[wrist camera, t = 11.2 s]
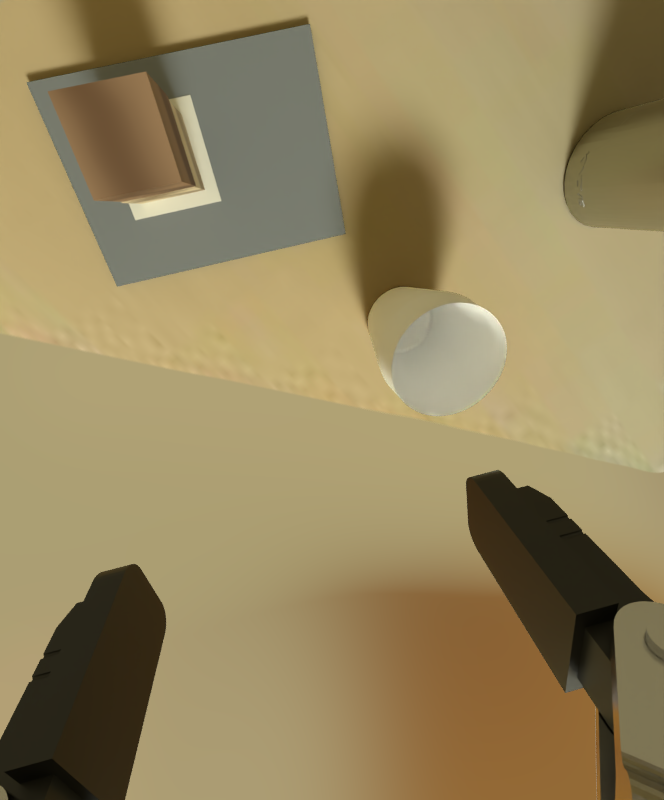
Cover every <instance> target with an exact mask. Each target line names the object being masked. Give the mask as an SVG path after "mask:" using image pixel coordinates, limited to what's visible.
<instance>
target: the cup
mask: <svg viewBox="0 0 664 800" xmlns="http://www.w3.org/2000/svg"><path fill="white" fill-rule="evenodd" d="M368 331H369V335H370V338H371V341H372V345H373V348H374V351H375V354H376V358H377V361H378V364H379V367H380V370H381V373H382V375H383V377H384V379H385V381H386V382H387V384H388V385H389V386H390V388H391V389H392V390H393V391H394V392H395V393H396V394H397V395H398V396H399V397H400V398H401V400H402V401H403V402H404V403H405V404H406V405H407V406H409V407H410V408H411V409H413V410H415V411H417V412H419V413H422V414H425V415H430V416H446V415H452V414H456V413H459V412H461V411H464V410H466V409H468V408H470V407H472V406H473V405H475V404H476V403H478V402H479V401H480V400H481V399H483V398H484V397H485V396H486V395H487V394H488V393H489V392H490V390H491V389H492V388H493V387H494V385H495V384H496V382H497V381H498V379H499V377H500V375H501V373H502V371H503V368H504V365H505V361H506V355H507V343H506V337H505V333H504V330H503V328H502V326H501V324H500V323H499V321H498V320H497V319H496V318H495V316H494V315H492V314H491V313H490V312H489V311H487V310H486V309H484V308H482V307H480V306H479V305H477V304H476V303H474V302H473V301H471V300H470V299H468V298H467V297H465V296H462V295H460V294H456V293H453V292H448V291H440V290H431V289H421V288H412V287H397V288H394V289H391V290H389V291H387V292H385V293H384V294H382V295H381V296H380V297H379V298H378V299H377V300H376V301H375V303H374V304H373V306H372V308H371V310H370V313H369V316H368Z"/></svg>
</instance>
